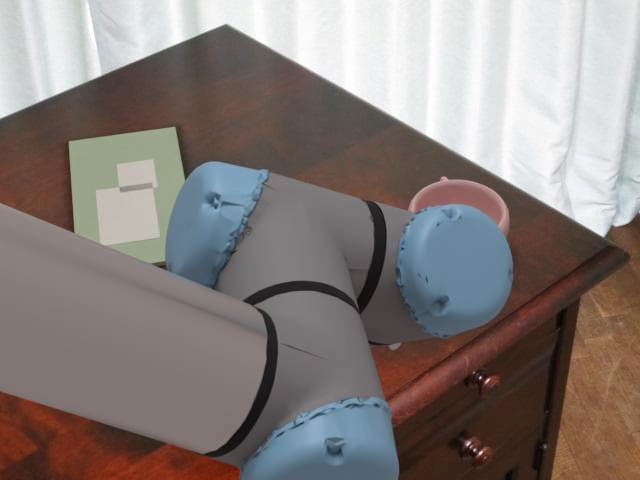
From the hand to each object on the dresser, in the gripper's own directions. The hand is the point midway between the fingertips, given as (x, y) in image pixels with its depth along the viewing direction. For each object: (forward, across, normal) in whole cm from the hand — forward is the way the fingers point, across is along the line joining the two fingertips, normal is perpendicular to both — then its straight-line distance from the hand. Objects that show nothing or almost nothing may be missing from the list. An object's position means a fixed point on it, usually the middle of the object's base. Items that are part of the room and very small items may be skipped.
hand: (219, 330), depth 100 cm
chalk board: (+22, +7, +14) cm, 28 cm away
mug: (+3, +27, -5) cm, 28 cm away
